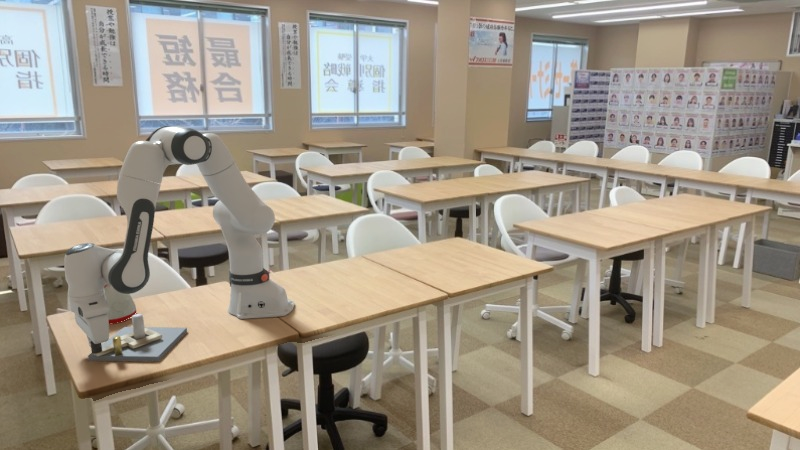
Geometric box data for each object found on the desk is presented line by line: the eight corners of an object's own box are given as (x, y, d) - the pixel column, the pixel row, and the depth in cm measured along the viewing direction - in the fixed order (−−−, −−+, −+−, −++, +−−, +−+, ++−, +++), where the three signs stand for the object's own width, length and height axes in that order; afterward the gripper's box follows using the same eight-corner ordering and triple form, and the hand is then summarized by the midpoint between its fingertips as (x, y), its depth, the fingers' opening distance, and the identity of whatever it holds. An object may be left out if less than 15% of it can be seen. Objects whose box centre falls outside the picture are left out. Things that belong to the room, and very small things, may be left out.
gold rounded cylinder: (123, 352, 157) (121, 336, 156) (120, 355, 155) (118, 339, 154) (117, 352, 157) (114, 336, 156) (113, 355, 155) (111, 339, 154)
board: (187, 331, 175) (184, 303, 173) (158, 361, 155) (155, 330, 153) (124, 331, 175) (121, 303, 173) (88, 360, 156) (84, 329, 154)
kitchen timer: (82, 318, 185) (76, 276, 182) (122, 306, 197) (117, 265, 193) (105, 328, 178) (99, 284, 174) (144, 314, 189) (140, 272, 186)
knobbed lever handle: (146, 330, 171) (144, 318, 170) (162, 337, 166) (161, 325, 165) (84, 352, 156) (83, 339, 156) (100, 360, 151) (98, 347, 150)
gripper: (65, 294, 159) (72, 339, 162) (85, 314, 144) (91, 363, 148) (89, 289, 163) (95, 333, 166) (111, 308, 149) (117, 355, 152)
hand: (94, 347), depth 157 cm, fingers closed
